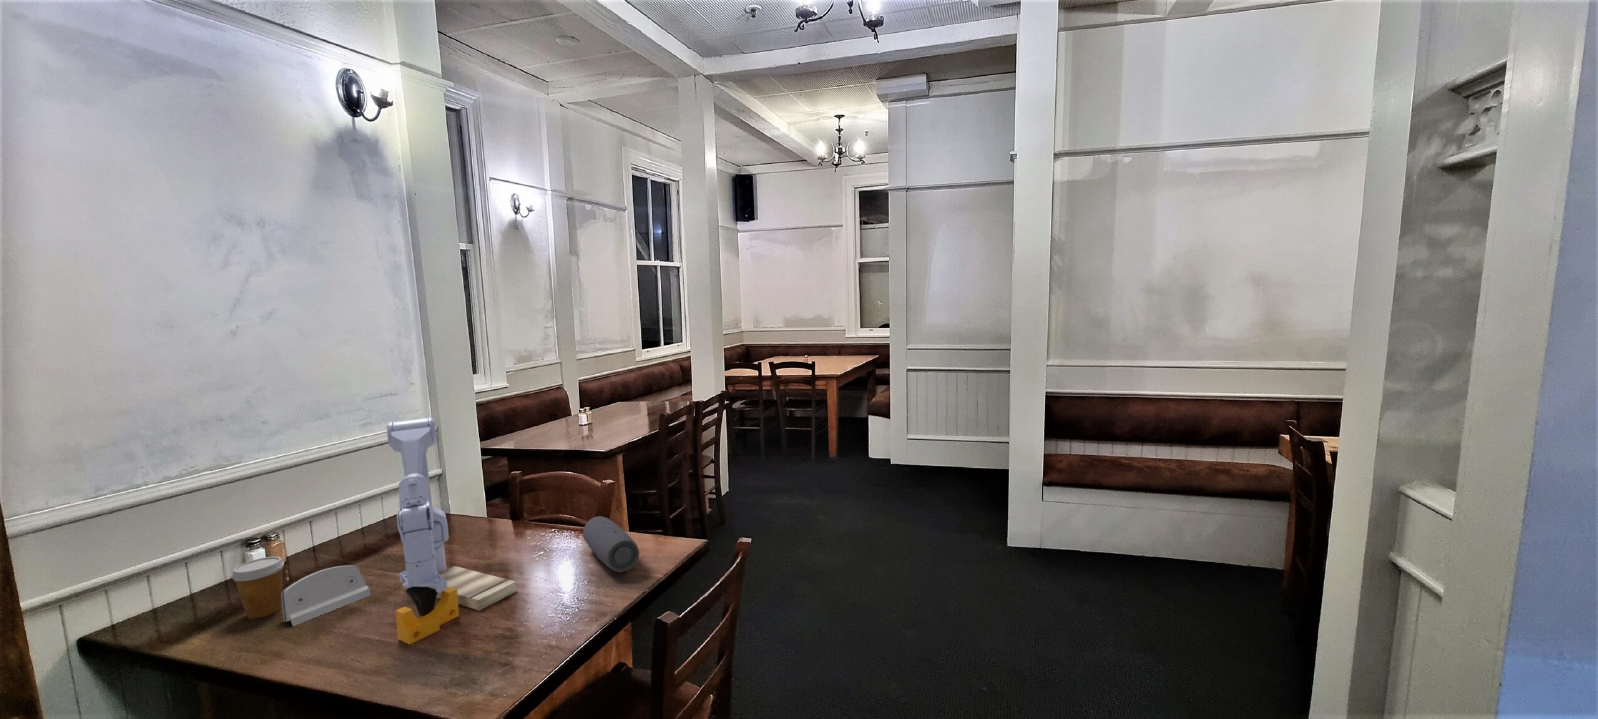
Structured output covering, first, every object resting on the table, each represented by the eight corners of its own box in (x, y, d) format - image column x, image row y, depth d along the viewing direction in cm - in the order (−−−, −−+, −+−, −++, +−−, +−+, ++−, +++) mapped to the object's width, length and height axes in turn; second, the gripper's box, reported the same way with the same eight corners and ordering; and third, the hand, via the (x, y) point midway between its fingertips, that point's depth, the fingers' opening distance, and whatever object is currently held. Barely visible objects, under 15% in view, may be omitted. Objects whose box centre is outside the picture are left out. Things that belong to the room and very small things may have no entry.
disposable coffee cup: (299, 604, 150) (293, 557, 149) (254, 624, 141) (247, 575, 140) (274, 600, 153) (267, 554, 152) (228, 619, 145) (220, 570, 143)
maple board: (417, 591, 154) (416, 582, 154) (455, 574, 163) (454, 565, 162) (479, 610, 143) (478, 599, 142) (516, 591, 152) (515, 581, 151)
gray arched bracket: (291, 627, 140) (279, 584, 140) (284, 628, 142) (272, 587, 143) (373, 594, 154) (361, 556, 155) (365, 596, 156) (354, 559, 157)
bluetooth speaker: (643, 570, 160) (640, 533, 158) (607, 581, 154) (604, 543, 153) (615, 543, 178) (612, 510, 177) (582, 552, 173) (579, 518, 172)
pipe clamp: (409, 644, 129) (407, 615, 129) (397, 639, 131) (395, 610, 131) (463, 617, 140) (462, 590, 139) (451, 613, 142) (450, 586, 141)
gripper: (382, 560, 137) (389, 617, 139) (421, 570, 130) (429, 631, 132) (414, 547, 143) (421, 603, 145) (453, 557, 137) (460, 615, 138)
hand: (427, 615), depth 139 cm, fingers closed
